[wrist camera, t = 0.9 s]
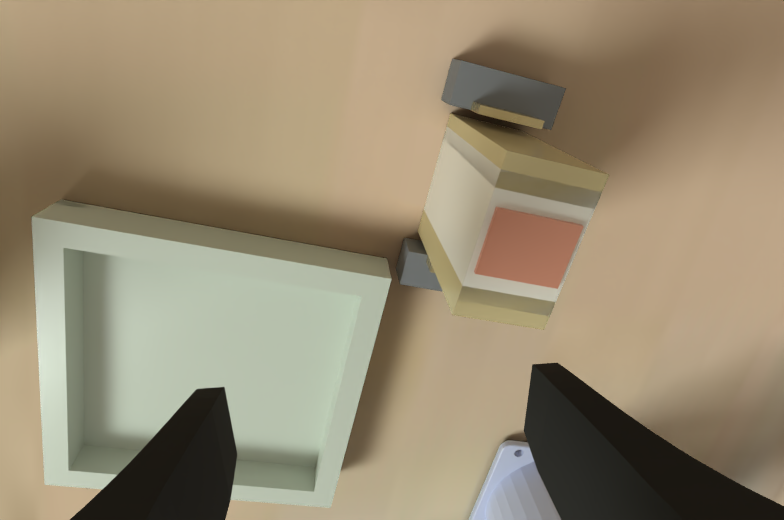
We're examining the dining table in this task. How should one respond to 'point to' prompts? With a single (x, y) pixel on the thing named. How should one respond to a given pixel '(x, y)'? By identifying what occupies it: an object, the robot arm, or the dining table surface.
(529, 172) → the carton
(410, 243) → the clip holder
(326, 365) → the tray
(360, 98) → the dining table surface
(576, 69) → the dining table surface
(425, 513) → the dining table surface
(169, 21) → the dining table surface
